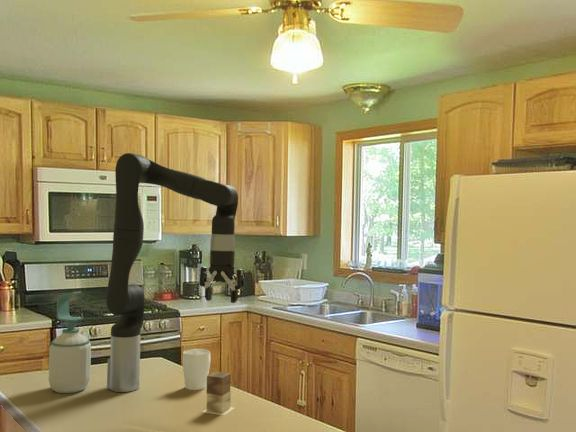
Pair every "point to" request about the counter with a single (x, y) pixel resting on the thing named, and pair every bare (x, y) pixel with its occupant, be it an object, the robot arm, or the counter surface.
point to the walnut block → (218, 383)
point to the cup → (196, 368)
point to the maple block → (218, 402)
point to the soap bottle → (69, 353)
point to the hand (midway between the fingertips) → (221, 301)
